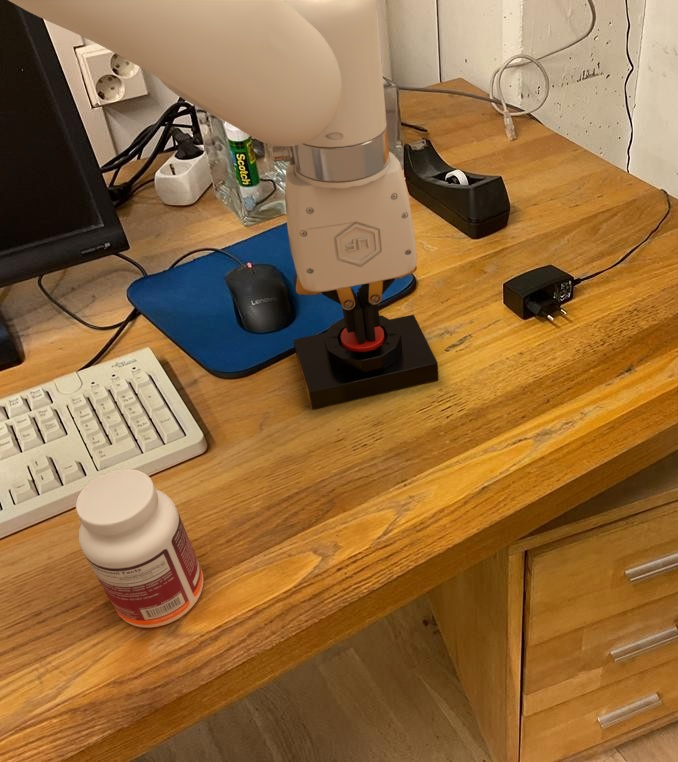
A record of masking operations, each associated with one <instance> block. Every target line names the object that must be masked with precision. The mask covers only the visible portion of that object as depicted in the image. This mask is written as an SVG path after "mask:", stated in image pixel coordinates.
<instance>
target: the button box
mask: <svg viewBox="0 0 678 762" xmlns="http://www.w3.org/2000/svg"><path fill="white" fill-rule="evenodd" d="M415 316H416V315H415V314H409V315H404V316H399V317H395V318H390V319H389V318H388V317H386V316H384V315H382V314H379V319H380V327H381V328H382V329H383V331H384V338H385V343H384V344H382V345H381V346H379V347H378V348H376V349H375V350H370V351H366V352H356V351H348V350H347V349H345V348H343V347H342V343H341V333H342V331H343V330H344V329H345V328H346V326H345V322H344V317H343V318H341V319H339V320H338V321H335V323H333V324H331V325H330V326H329V328H328V329H327V331H326V332H322V333H318V334H313V335H308V336H304V337H298V338H295V339H292V342H293V346H294V351H295V352H294V353H295V358H296V360H297V363H298V367H299V371H300V374H301V377H302V380H303V383H304V387H305V390H306V393H307V397H308V400H309V403H310V406H311V410H312V411H313V410H318V409H322V408H327V407H331V406H334V405H339V404H344V403H348V402H353V401H356V400H361V399H365V398H369V397H373V396H377V395H382V394H387V393H391V392H395V391H399V390H403V389H408V388H412V387H415V386H420V385H425V384H428V383H429V384H430V383H433V382H437V381H439V363H438V361H437V359H436V357H435V355H434V353H433V351H432V348H431V347H430V344H429V343H428V341H427V339H426V337H425V334H424V333H423V330H422V329H421V326H420V324H419V322H418V320H417V318H416V317H415Z"/></svg>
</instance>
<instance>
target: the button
mask: <svg viewBox="0 0 678 762" xmlns="http://www.w3.org/2000/svg"><path fill="white" fill-rule="evenodd" d="M374 329H375V338H376V341H371V342H370V340H369V341H368V340H367V338H366V341H364V343H362V344H358V341H357V339H356V336H355V334H354V332H350V333H348V332H347V330H346V328H345V329H344V330H343V331H342V333H341V343H342V347H343V348H345V349H347V350H348V351H356V352H366V351H370V350H375V349H376V348H378V347H379V346H381V345H382V344H384V343H385V338H384V331H383V329H382V328H381V327H380V326H378V327H374Z"/></svg>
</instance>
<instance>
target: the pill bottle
mask: <svg viewBox="0 0 678 762" xmlns="http://www.w3.org/2000/svg"><path fill="white" fill-rule="evenodd" d="M75 510H76V514H77V516H78V519H79V521H80V523H81V524H80V526H79V530H78V544H79V546H80V548H81V551H82V552H83V554H84V557H85V558H86V560H87V562H88V563H89V565H90V567H91V569H92V571H93V573H94V574H95V577H96V578H97V580H98V582H99V583H100V586H101V587H102V589H103V590H104V593H105V594H106V596H107V597H108V599H109V601H110V603H111V605H112V607H113V608H114V610H115V612H116V613H117V614H118V616H119V617H120V618H121V619H122V620H123V621H124V622H126V623H127V624H130V625H131V626H134V627H139V628H157V627H161V626H166V625H168V624H171V623H173V622H175V621H177V620H178V619H181V618H182V617H183V616H185V615H186V614H187V613H188V612H189V611H190V610H191V609H192V608H193V606H194V605H195V604H196V603H197V602H198V600H199V598H200V596H201V594H202V591H203V587H204V573H203V569H202V567H201V564H200V562H199V559H198V557H197V555H196V552H195V550H194V547H193V545H192V543H191V539H190V537H189V534H188V533H187V530H186V528H185V525H184V523H183V520H182V518H181V515H180V513H179V511H178V508H177V506H176V504H175V502H174V500H173V499H172V498H171V497H170V496H169V495H168V494H166V493H165V492H163V491H161V490H159V489H157V488H156V486H155V483H154V482H153V480H152V478H151V477H150V476H149V475H148V474H146V473H145V472H144V471H140V470H137V469H133V468H122V469H120V468H119V469H115V470H111V471H106V472H105V473H103V474H100V475H98V476H97V477H95V478H93V479H92V480H90V481H89V482H88V483H87V484H86V485H85V486H84V487H83V488H82V489H81V491H80V492H79V494H78V496H77V498H76V502H75Z"/></svg>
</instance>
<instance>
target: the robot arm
mask: <svg viewBox="0 0 678 762" xmlns="http://www.w3.org/2000/svg"><path fill="white" fill-rule="evenodd" d="M8 1H9V2H11V3H12V4H14V5H15V6H18V7H20V8H21V9H23V10H24V11H26V12H28V13H30V14H32V15H34V16H36V17H38V18H40V19H43V20H45V21H47V22H49V23H52V24H53V25H56V26H58V27H59V28H63V29H65V30H67V31H69V32H72V33H73V34H76V35H78V36H81V37H82V38H85V39H86V40H89V41H90V42H93V43H95V44H97V45H98V46H101V47H103V48H105V49H107V50H108V51H110V52H112V53H114V54H116V55H118V56H120V57H122V58H123V59H125V60H127V61H129V62H130V63H132V64H134V65H135V66H137V67H139V68H141V69H143V70H144V71H146V72H147V73H149V74H151V75H153V76H155V77H156V78H158V79H159V80H160V82H161V83H162V84H163V85H164V86H165V87H166V88H167V89H168V90H169V91H171V92H172V93H174V94H175V95H177V96H178V97H180V98H181V99H182V100H184V101H186V102H188V103H189V104H191V105H192V106H196V107H197V108H198V109H200V110H203V111H204V112H206V113H208V114H210V115H212V116H214V117H216V118H218V119H220V120H222V121H223V122H226V123H227V124H229V125H231V126H233V127H234V128H236V129H238V130H240V131H241V132H243V133H244V134H246V135H247V136H250V137H252V138H253V139H255V140H257V141H259V142H261V143H263V144H267V145H269V147H270V152H271V157H272V161H273V163H277V162H284V163H287V162H288V164H287V166H286V168H285V178H284V179H285V183H284V199H285V203H284V204H285V216H286V217H285V218H286V227H287V236H288V243H289V249H290V254H291V258H292V260H293V264H294V273H293V286H294V289H295V292H296V294H298V295H301V296H318V295H323V296H324V297H326V298H328V299H329V300H332V301H333V302H335V303H337V304H339V305H341V308H342V316H343V318H344V322H345V326H346V330H347V332H348V333H350V332H354V334H355V336H356V339H357V341H358V344H362V343H364V341H366V338H367V340H368V341H369V340H370V342H371V341H376V338H375V329H374V327H378V326H380V319H379V315H380V311H379V304H380V303H381V302H382V299H383V295H384V294H385V292H386V291H387V290H388V289H389V288H390V287H391V286H392V284H393V283H394V282H395V281H396V280H399V279H402V278H404V277H406V276H409V275H412V274H414V273H415V272H416V271H417V269H418V268H417V262H418V252H417V242H416V241H417V240H416V233H415V227H414V219H413V213H412V208H411V202H410V197H409V192H408V186H407V182H406V179H405V174H404V171H403V168H402V167H403V166H402V165H401V161H400V160H399V159H398V158H397V157H396V155H395V154H394V153H393V152H392V151H390V148H389V135H388V124H387V112H386V100H385V87H384V74H383V63H382V52H381V39H380V27H379V16H378V15H379V13H378V6H377V0H8ZM357 286H360V287H359V288H357V292H355V289H353V288H352V287H357Z"/></svg>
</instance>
